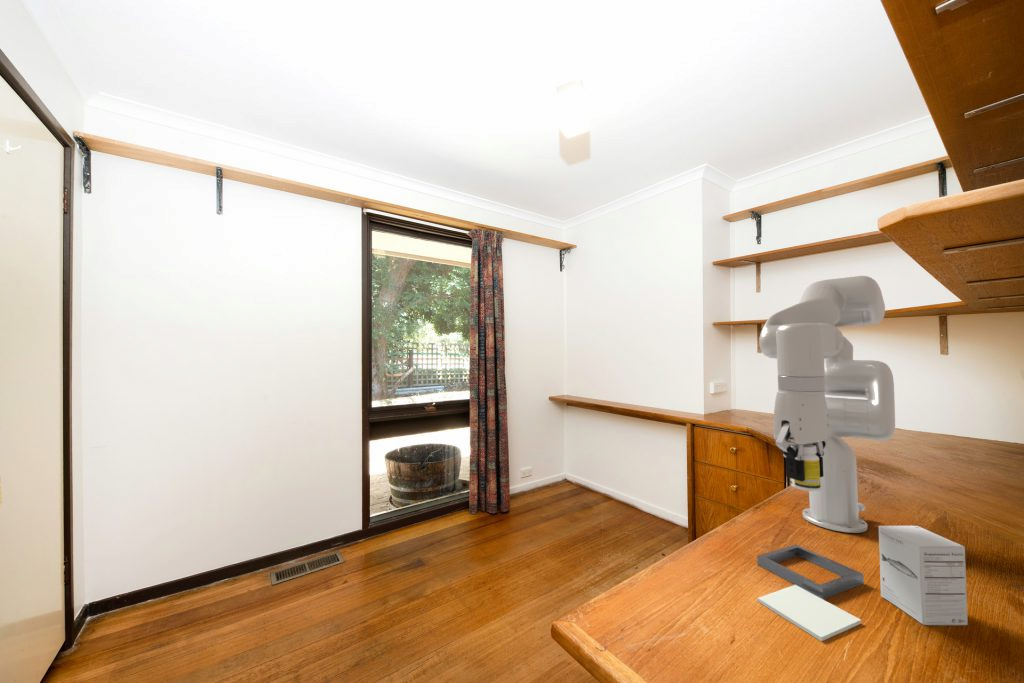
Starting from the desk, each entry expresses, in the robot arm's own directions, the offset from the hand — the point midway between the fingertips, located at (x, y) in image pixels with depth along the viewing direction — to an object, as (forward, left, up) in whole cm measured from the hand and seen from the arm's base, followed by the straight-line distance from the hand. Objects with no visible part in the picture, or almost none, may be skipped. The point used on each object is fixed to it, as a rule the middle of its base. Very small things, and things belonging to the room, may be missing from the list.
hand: (804, 476), depth 75 cm
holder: (0, 0, -19) cm, 19 cm away
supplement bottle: (0, 0, -2) cm, 2 cm away
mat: (+12, +7, -19) cm, 24 cm away
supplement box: (-6, +14, -19) cm, 24 cm away
